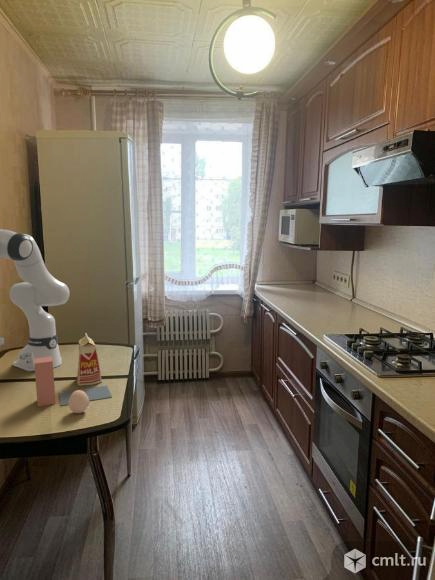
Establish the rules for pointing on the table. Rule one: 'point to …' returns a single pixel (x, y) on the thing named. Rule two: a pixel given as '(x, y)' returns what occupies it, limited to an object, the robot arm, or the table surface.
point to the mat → (92, 394)
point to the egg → (78, 401)
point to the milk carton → (88, 363)
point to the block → (44, 381)
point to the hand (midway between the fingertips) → (3, 340)
